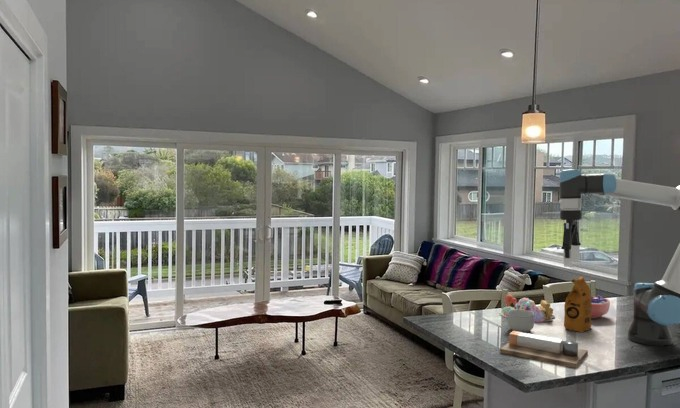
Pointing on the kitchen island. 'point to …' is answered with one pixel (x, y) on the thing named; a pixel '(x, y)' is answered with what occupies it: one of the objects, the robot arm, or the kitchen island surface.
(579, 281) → the coffee package
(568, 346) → the tongs fixed
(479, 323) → the kitchen island surface
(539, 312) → the candy landscape model
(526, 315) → the teacup
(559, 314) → the kitchen island surface
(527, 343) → the tongs arm
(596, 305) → the cell model
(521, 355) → the board
